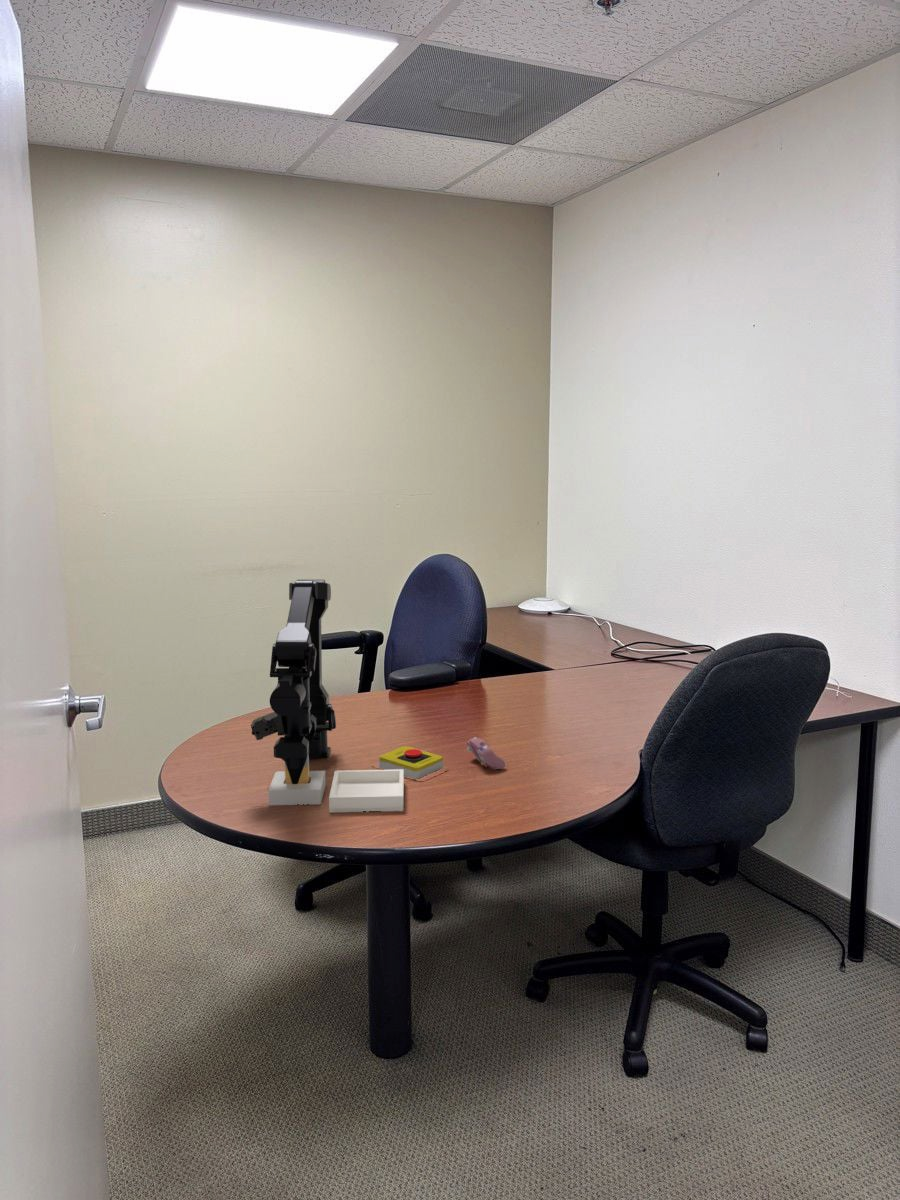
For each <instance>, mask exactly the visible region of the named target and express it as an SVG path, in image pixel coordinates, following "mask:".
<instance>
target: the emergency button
mask: <svg viewBox="0 0 900 1200" xmlns="http://www.w3.org/2000/svg"><path fill="white" fill-rule="evenodd" d="M378 762H379V768H381V769H384V770H393V769H404V776H406V777H410V778H414V779H420V778H422V777H424V776H427V775H428V774H431V773H433V772H436V771H438V770H440V769H442V768H443V767H444V759H443V756H442V755H439V754H435V753H432V752H428V751H425V750H421V749H417V748H415V747H412V746H411V747H410V746H407V745H405V746H401V747H399V748H396V749H394V750H391V751H389V752H386V753H383V754H380V755H379V759H378ZM406 777H405V778H406Z"/></svg>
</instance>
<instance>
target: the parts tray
mask: <svg viewBox="0 0 900 1200" xmlns="http://www.w3.org/2000/svg"><path fill="white" fill-rule="evenodd" d="M404 778H405V777H404V769H393V770H380V769H355V770H354V769H351V770H349V769H348V770H343V769H342V770H341V769H340V770H334V774H333V778H332V783H331V786H330V787H331V788H330V791H329V795H328V804H329V805H328V807H329V809H328V810H329V811H328V813H330V814H331V813H364V812H363V811H366V812H365V813H369V811H381V812H404V801H405V800H404V799H405V798H404V788H405V785H404V784H405V783H404V782H405V781H404Z"/></svg>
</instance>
